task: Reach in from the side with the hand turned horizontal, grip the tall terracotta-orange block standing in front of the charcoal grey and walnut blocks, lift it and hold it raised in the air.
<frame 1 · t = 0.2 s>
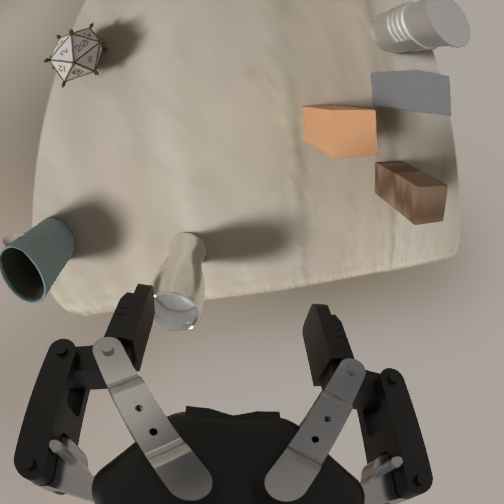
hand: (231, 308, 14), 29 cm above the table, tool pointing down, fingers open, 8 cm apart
walnut block: (388, 176, 41), on the table
beer glass: (187, 249, 45), on the table
game die: (90, 56, 28), on the table
grey ribbed canister: (385, 34, 29), on the table
grey block: (386, 90, 34), on the table
orange block: (320, 122, 36), on the table
grey-green cup: (55, 238, 42), on the table
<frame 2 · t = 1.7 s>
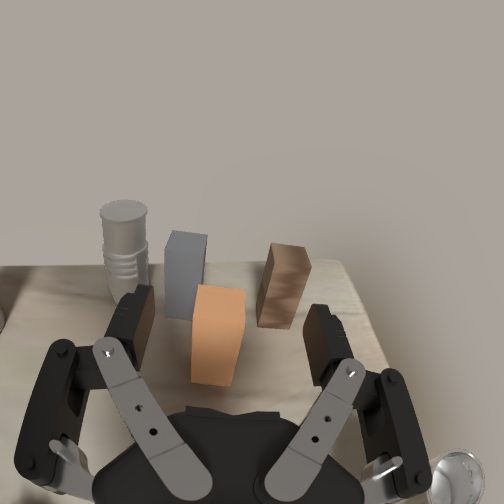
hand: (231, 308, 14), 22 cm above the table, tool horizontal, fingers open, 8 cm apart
walnut block: (272, 317, 45), on the table
grey ribbed canister: (130, 295, 43), on the table
grey block: (184, 307, 43), on the table
orange block: (211, 369, 35), on the table
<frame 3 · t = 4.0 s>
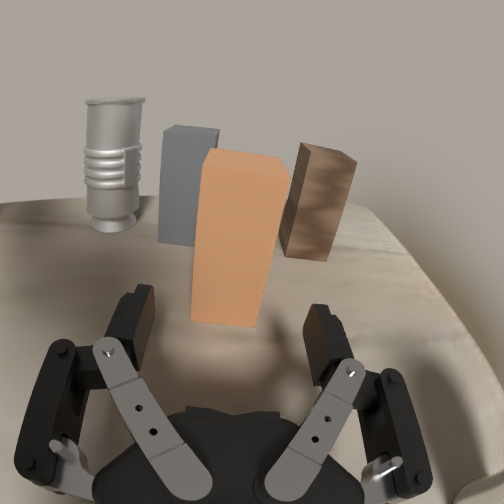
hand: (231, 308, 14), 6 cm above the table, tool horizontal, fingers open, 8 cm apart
walnut block: (301, 248, 34), on the table
grey ribbed canister: (114, 222, 32), on the table
grey block: (184, 233, 33), on the table
orange block: (223, 303, 24), on the table
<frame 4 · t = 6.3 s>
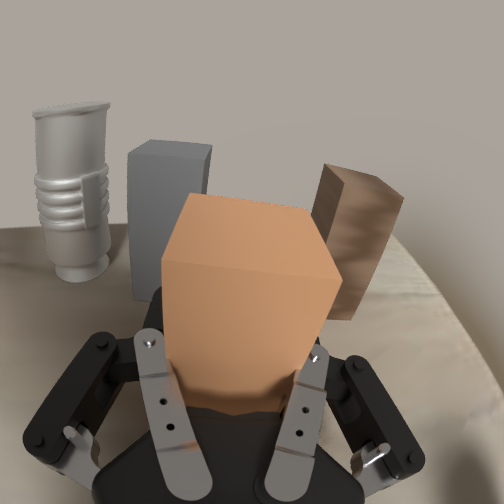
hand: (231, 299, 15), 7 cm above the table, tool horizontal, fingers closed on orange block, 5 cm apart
walnut block: (320, 300, 26), on the table
grey ribbed canister: (82, 265, 24), on the table
grey block: (168, 285, 25), on the table
orange block: (219, 402, 16), on the table, touching gripper
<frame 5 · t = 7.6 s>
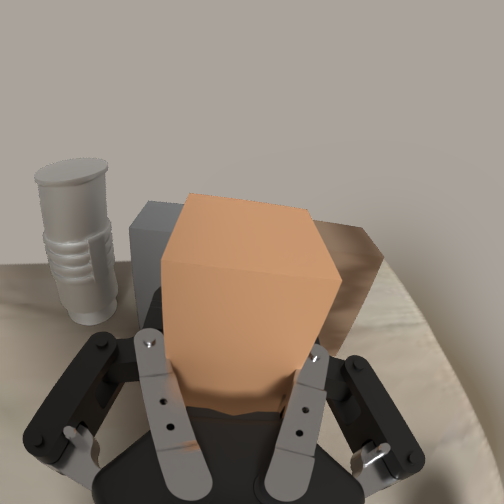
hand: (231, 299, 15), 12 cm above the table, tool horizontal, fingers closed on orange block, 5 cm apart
walnut block: (308, 337, 29), on the table
grey ribbed canister: (92, 307, 27), on the table
grey block: (171, 327, 27), on the table
orange block: (219, 403, 16), point 5 cm above the table, touching gripper
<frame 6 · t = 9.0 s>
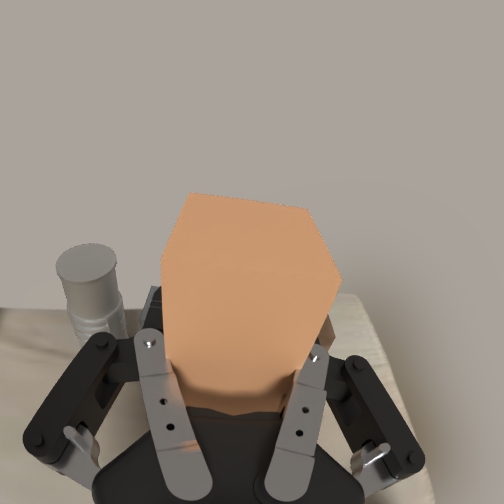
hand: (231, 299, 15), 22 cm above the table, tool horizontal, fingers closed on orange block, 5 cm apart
walnut block: (280, 380, 35), on the table
grey ribbed canister: (108, 353, 33), on the table
orange block: (219, 402, 16), point 15 cm above the table, touching gripper
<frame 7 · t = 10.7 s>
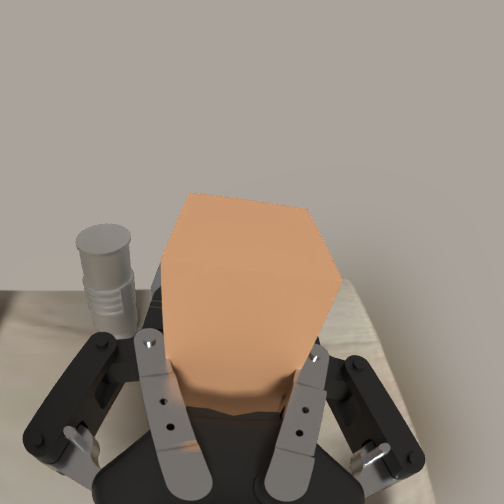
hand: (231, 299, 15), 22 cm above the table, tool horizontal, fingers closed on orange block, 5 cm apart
grey ribbed canister: (117, 328, 37), on the table
orange block: (219, 403, 16), point 15 cm above the table, touching gripper
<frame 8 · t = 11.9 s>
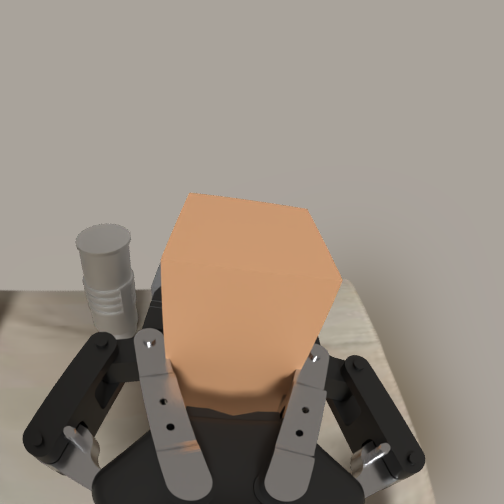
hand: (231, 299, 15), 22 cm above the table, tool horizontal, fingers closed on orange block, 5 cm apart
grey ribbed canister: (117, 328, 37), on the table
orange block: (219, 403, 16), point 15 cm above the table, touching gripper
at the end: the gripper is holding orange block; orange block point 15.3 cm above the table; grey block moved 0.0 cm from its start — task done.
